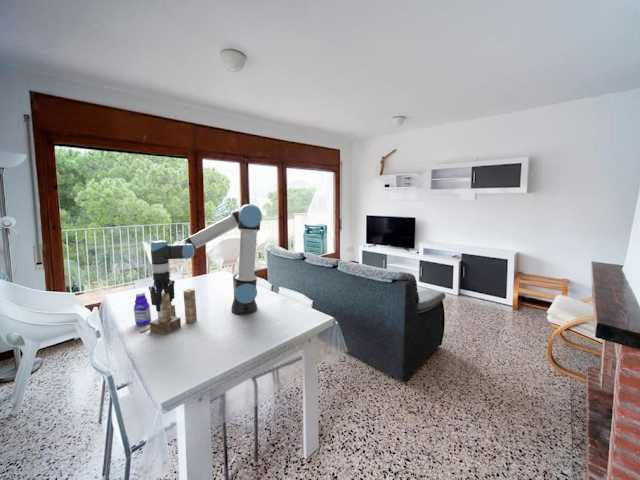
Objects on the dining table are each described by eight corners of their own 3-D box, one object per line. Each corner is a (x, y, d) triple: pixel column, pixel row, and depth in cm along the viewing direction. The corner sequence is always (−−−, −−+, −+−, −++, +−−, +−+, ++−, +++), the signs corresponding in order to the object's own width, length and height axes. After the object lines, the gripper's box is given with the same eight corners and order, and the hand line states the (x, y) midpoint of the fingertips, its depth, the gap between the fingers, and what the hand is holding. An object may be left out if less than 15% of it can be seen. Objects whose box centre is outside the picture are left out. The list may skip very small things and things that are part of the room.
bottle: (134, 326, 152) (130, 295, 150) (137, 322, 158) (134, 291, 155) (149, 324, 154) (146, 294, 151) (152, 320, 159) (149, 290, 157)
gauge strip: (165, 320, 159) (165, 320, 159) (167, 321, 159) (167, 320, 159) (140, 332, 146) (140, 331, 145) (142, 332, 145) (142, 332, 145)
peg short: (170, 315, 167) (169, 303, 166) (175, 316, 165) (174, 304, 164) (164, 318, 163) (163, 306, 162) (169, 319, 161) (168, 307, 160)
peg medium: (165, 319, 151) (163, 292, 149) (171, 320, 149) (168, 293, 147) (158, 322, 147) (156, 294, 145) (164, 323, 146) (162, 295, 144)
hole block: (167, 323, 155) (166, 315, 155) (181, 326, 152) (180, 317, 151) (150, 331, 146) (149, 322, 146) (164, 335, 143) (163, 325, 142)
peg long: (191, 319, 161) (189, 288, 158) (196, 320, 159) (194, 289, 157) (185, 322, 157) (183, 291, 154) (191, 323, 156) (189, 292, 153)
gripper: (170, 266, 154) (173, 308, 157) (139, 274, 138) (144, 320, 141) (180, 268, 151) (183, 310, 154) (150, 276, 135) (154, 322, 139)
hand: (164, 315), depth 148 cm, fingers closed on peg medium, 4 cm apart
